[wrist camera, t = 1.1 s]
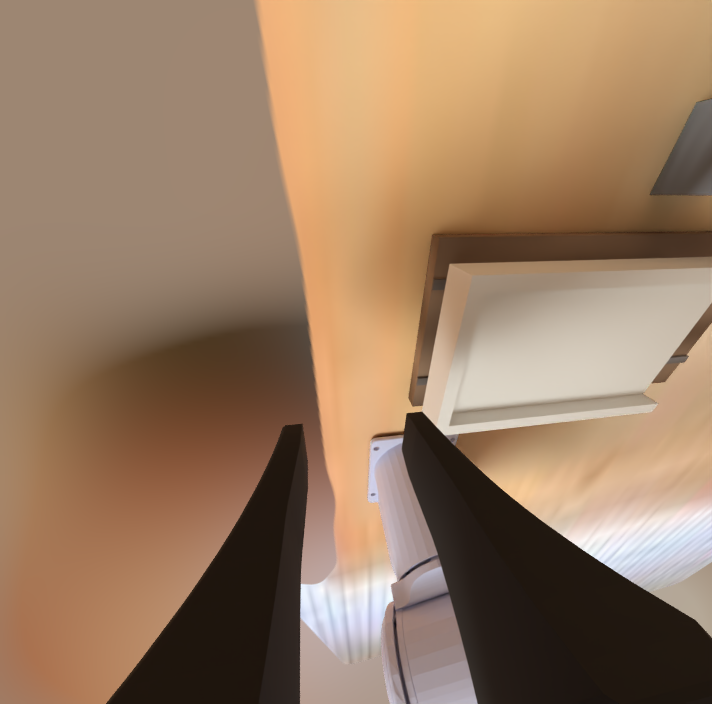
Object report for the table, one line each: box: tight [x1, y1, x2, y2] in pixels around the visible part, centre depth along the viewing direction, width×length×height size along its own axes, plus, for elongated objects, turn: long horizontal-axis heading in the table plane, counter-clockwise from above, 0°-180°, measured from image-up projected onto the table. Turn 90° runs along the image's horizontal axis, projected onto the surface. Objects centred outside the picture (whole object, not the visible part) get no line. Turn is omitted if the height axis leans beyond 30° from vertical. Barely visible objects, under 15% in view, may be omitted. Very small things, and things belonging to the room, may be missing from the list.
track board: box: [409, 231, 712, 406], centre depth 19 cm, size 12×23×1 cm, turn 90°
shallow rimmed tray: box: [422, 257, 712, 435], centre depth 16 cm, size 10×16×3 cm, turn 90°
